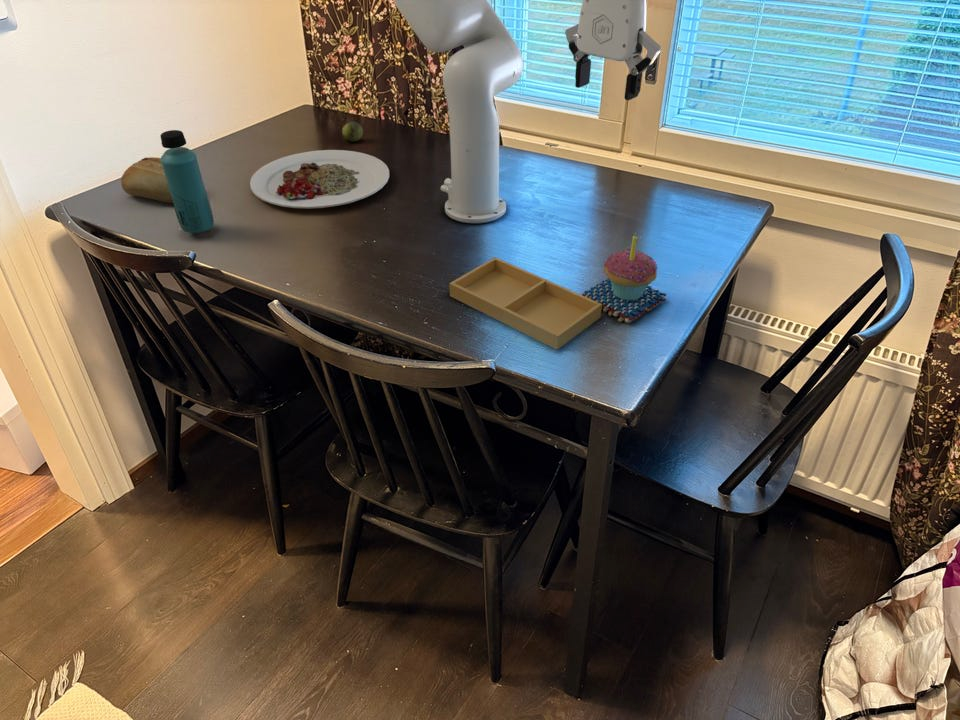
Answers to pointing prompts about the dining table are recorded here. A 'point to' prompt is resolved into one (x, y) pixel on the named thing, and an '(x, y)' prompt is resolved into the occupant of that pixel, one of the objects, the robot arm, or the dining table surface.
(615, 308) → the woven mat
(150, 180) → the bread roll
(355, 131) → the lime
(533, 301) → the divided tray
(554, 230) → the dining table surface
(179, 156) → the beverage bottle
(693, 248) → the dining table surface
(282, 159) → the plated food
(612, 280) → the cupcake
